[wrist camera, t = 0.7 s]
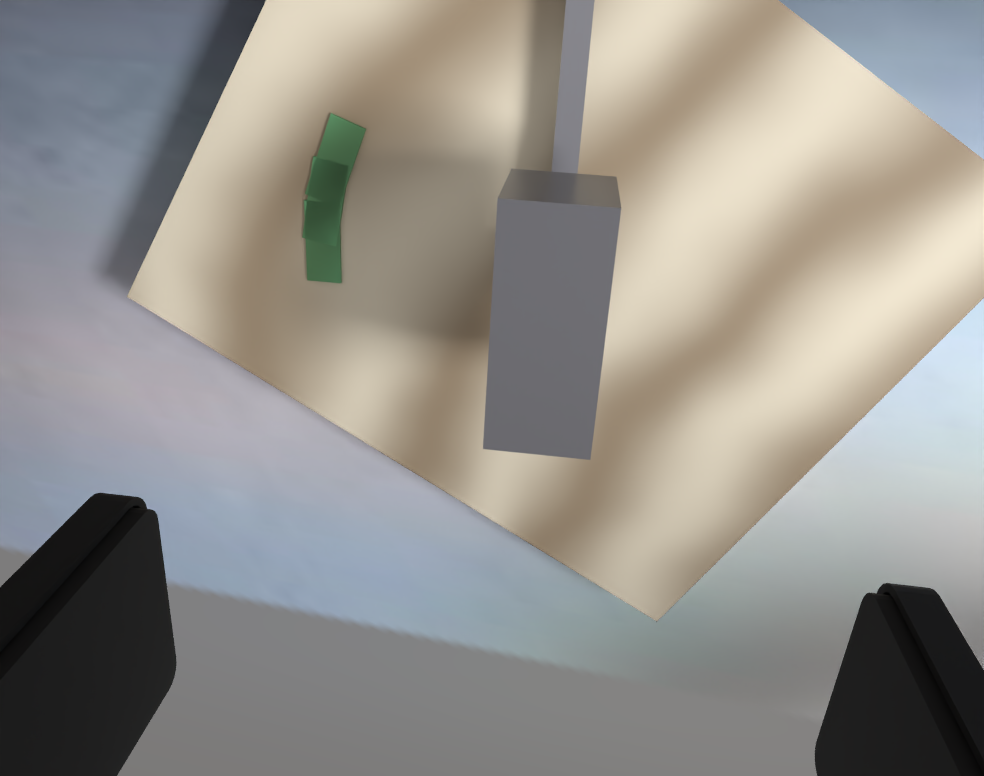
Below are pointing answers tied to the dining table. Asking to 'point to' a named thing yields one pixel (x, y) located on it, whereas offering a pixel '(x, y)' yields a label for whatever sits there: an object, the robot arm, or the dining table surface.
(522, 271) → the key
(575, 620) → the dining table surface
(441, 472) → the wooden cutting board
